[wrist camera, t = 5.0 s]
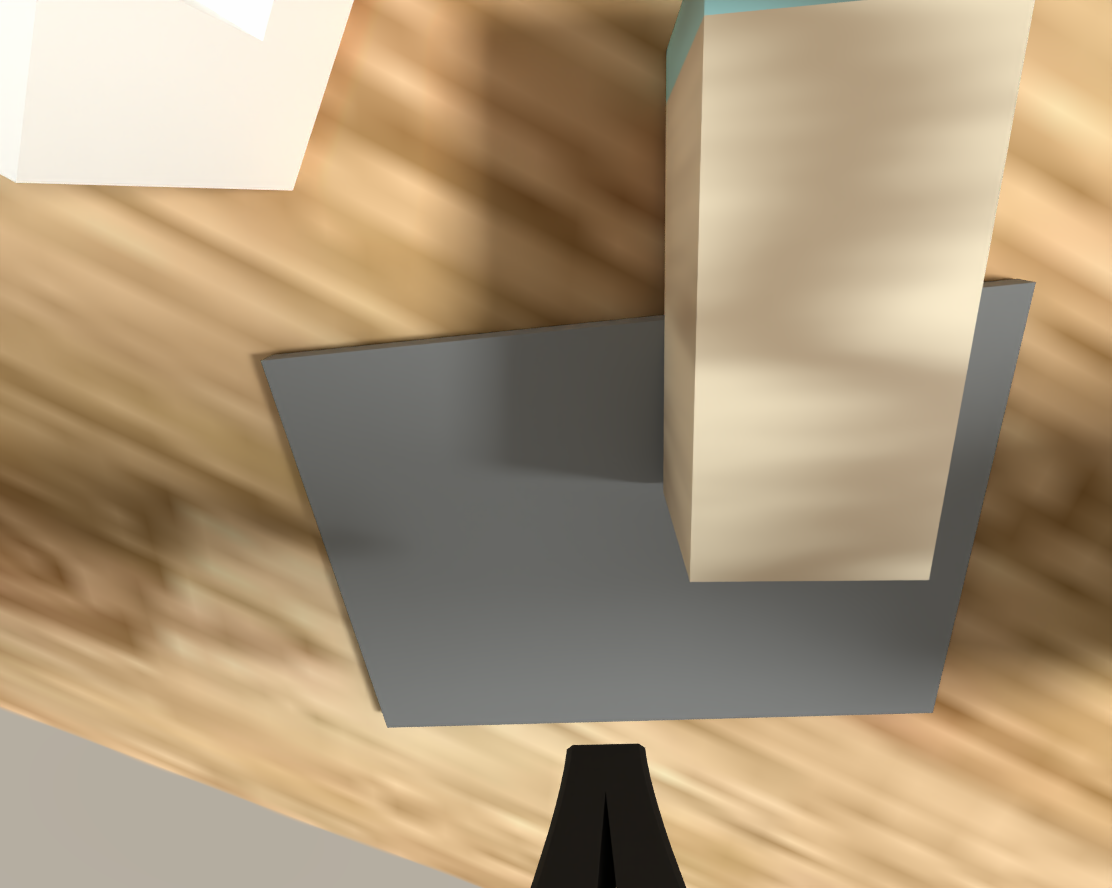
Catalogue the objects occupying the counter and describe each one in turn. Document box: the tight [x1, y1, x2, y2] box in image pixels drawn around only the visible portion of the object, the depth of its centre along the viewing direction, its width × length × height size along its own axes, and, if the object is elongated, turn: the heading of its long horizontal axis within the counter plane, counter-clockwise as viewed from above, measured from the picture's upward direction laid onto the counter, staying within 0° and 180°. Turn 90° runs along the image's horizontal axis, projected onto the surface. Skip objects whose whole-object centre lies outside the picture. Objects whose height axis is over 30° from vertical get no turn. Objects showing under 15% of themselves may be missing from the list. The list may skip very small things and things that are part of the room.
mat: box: [261, 279, 1036, 728], centre depth 16 cm, size 19×14×1 cm
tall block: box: [663, 0, 1035, 582], centre depth 11 cm, size 4×4×10 cm
